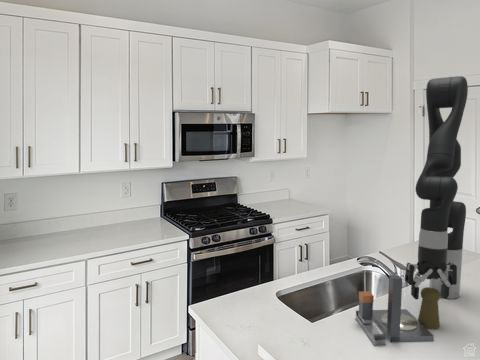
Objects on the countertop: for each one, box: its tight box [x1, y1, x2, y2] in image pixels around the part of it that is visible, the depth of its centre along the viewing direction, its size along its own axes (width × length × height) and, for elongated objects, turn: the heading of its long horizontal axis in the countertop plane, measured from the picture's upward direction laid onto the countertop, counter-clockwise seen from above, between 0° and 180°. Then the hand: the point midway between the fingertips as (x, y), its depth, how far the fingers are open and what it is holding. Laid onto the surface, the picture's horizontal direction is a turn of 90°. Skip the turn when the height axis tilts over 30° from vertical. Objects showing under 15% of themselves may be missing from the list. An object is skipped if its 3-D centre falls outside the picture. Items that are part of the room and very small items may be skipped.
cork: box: [417, 286, 441, 331], centre depth 114 cm, size 6×6×11 cm
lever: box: [358, 290, 375, 324], centre depth 113 cm, size 5×3×8 cm, turn 2°
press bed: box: [372, 274, 435, 343], centre depth 112 cm, size 16×12×18 cm
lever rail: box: [355, 309, 387, 346], centre depth 110 cm, size 15×3×3 cm, turn 2°
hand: (429, 298), depth 113 cm, fingers open, 8 cm apart
